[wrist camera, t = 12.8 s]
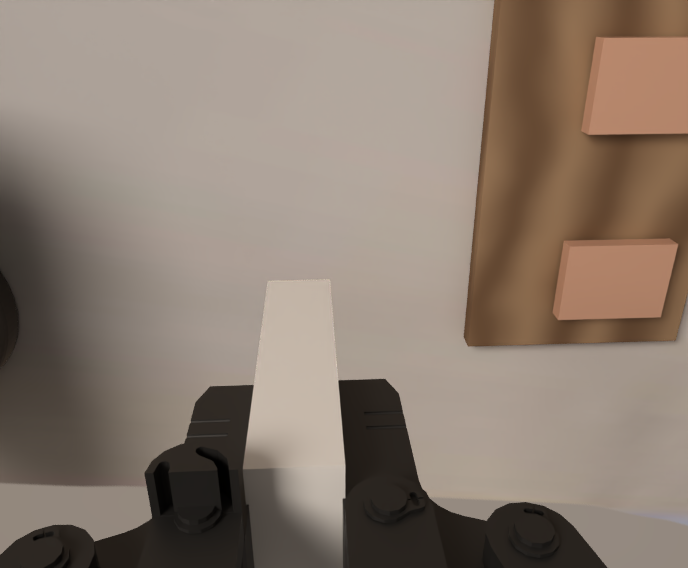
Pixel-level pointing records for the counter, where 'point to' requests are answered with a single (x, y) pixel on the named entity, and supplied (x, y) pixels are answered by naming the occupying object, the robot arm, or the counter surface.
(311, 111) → the counter surface
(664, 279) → the tile
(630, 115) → the tile
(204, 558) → the robot arm
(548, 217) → the board
